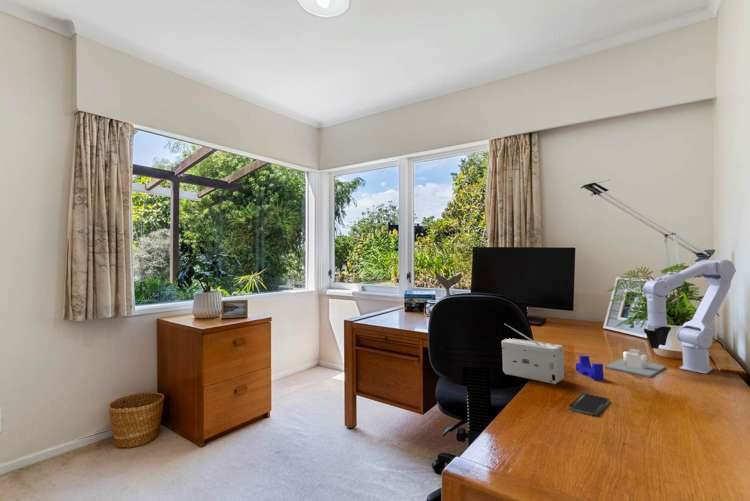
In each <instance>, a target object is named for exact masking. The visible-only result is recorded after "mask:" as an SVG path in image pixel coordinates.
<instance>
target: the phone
mask: <svg viewBox="0 0 750 501" xmlns="http://www.w3.org/2000/svg"><path fill="white" fill-rule="evenodd" d="M610 401H611V400H610V399H609V398H607V397H602V396H599V395H594V394H589V393H583V392H582V393H581V394H580V395H579V396H578V397H577V398H576V399H575V400H574V401H572V403H570V405H568V410H569V409H570V410H569V411H571V410H573V411H572V412H575V411H577V412H576V413H578V412H581V413H580V414H582V413H584V415H586V414H588V415H587V416H590V415H592V416H591V417H594V416H598V417H600V415H601V414H602V413H603V412H604V410H605V409H606V408H607V407H608V405H609V404H610V403H611V402H610ZM606 406H607V407H606ZM600 413H601V414H600Z"/></svg>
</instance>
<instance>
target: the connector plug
mask: <svg viewBox="0 0 750 501" xmlns="http://www.w3.org/2000/svg"><path fill="white" fill-rule="evenodd" d="M622 353H623V355H622V357H623V359H624V365H626V366H631V367H636V368H641V369H648V363H649V362H648V355H647V354H644V353H641V350H639V349H631V348H630V349H629V351H626V350H625V351H623V352H622Z"/></svg>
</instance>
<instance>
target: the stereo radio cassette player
mask: <svg viewBox="0 0 750 501" xmlns="http://www.w3.org/2000/svg"><path fill="white" fill-rule="evenodd" d="M504 325H505V326H507V327H508V328H510V329H511V330H513V331H514V332H516V333H518V334H519V335H521V336H522V337H524V338H526V339H520V338H519V339H517V338H512V339H511V338H510V337H508V338H509V339H507V338H505V339H503V340H501V342H500V343H501V348H502V349H501V351H502V352H501V354H502V356H501V357H502V371H503V373H504V374H505V375H507V376H508V375H509V376H515V377H519V378H525V379H528V380H533V381H534V380H535V381H538V382H539V381H540V382H544V383H548V384H552V385H556V384H558V383H559V382H561V381H562V380H563V379H564V378H565V358H564V356H565V355H564V347H563V346H564V345H562V344H555V343H548V342H542V341H540V342H539V341H535V340H533V339H532V338H529V337H528V336H526V335H525V334H523V333H522V332H519V331H518V330H517V329H515V328H513V327H511V326H510V325H508V324H506V323H504Z"/></svg>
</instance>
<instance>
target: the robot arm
mask: <svg viewBox="0 0 750 501" xmlns="http://www.w3.org/2000/svg"><path fill="white" fill-rule="evenodd" d="M736 272H737V269H736V268H735V264H734V263H733V262H732V261H731V260H730V259H701V260H699V261H696V262H695V263H694V264H693V265H691V266H688V267H687V268H685V269H683V270H681V271H679V272H676V271H668V272H666V274H665V275H663V276H661V277H660V276H658V277H656V279H655V280H647V281H646V282H645V283H644V284H643V287H642V291H643V293H644V294H645V298H646V303H647V304H646V307H647V320H645V321H644V324H645V325H646V326H647V328H644V329H643V332H644V334H645V336H646V337H647V340H648V341H649V346H650V348H651V349H656V350H659V348H660V346H666V344H667V339H668V335H669V333H670V332H671V330H672V327H671V326H668V321H667V320H668V319H667V300H666V299H667V298H666V296H668V295H669V293H670V291H672V290H674V289H677V288H679V287H681V286H684V284H685V281H687V280H689V279H692V278H695V277H698V276H699V275H700V276H701V277H702V278H703V279H704V281H706V283H708V285H709V286H708V287H707V290H706V291H705V294H704V296H703V298H702V299H701V302H700V304H699V306H698V307H697V309H696V312H695V313H694V314H693V317H692V319H691V320H689V321H687V322H684V323H683V324H682V326H681V327H680V328H679V329H677V331H676V338H677V340H678V341H679V342H680V345H682V346H681V347H682V348H681V349H682V365H681V366H679V369H680V370H685V371H689V372H695V373H699V374H700V373H701V374H708V373H709V372H711V371H712V370H713V369H714V368H713V367H712V366H710V356H709V355H710V353H709V350H708V349H710V347H711V346H712V345H713V340H714V339H713V338H714V335H715V331H714V330H713V329H712V327H711V325H712V323H713V321H714V319H715V317H716V316H717V313H718V311H719V310H720V308H721V305H722V304H723V302H724V300H725V297H726V296H727V294H728V292H729V290H730V288H731V285H732V284H731V283H732V280H733V278H734V276H735V274H736Z"/></svg>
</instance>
